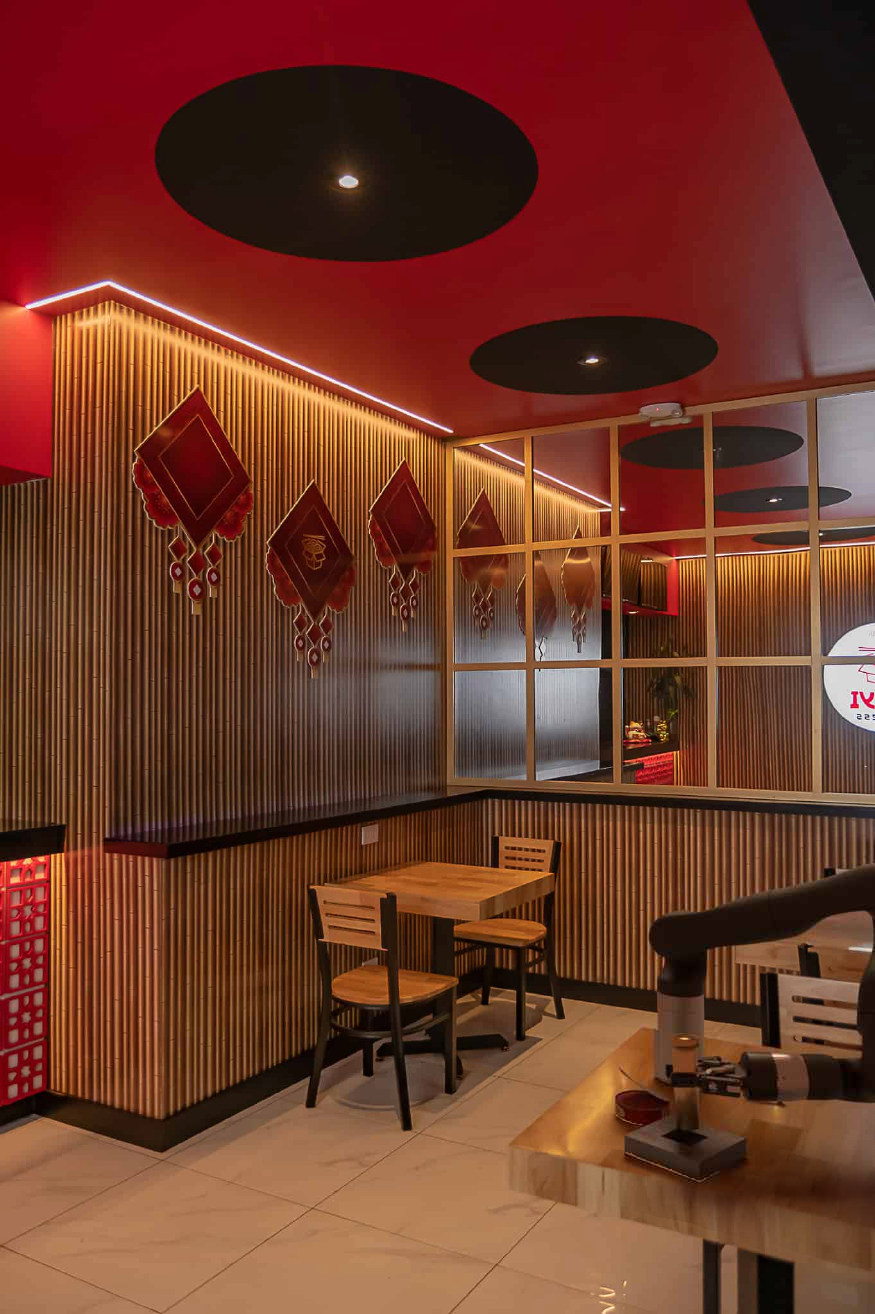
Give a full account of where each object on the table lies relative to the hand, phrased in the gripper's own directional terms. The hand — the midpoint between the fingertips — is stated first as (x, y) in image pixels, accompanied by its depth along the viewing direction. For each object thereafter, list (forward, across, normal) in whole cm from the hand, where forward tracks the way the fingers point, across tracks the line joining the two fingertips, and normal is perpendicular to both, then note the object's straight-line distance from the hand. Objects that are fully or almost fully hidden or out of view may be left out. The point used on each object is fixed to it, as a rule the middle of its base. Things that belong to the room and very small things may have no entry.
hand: (668, 1075), depth 158 cm
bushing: (-3, 0, +8) cm, 8 cm away
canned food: (+2, -18, +13) cm, 22 cm away
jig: (-2, 0, +13) cm, 13 cm away
